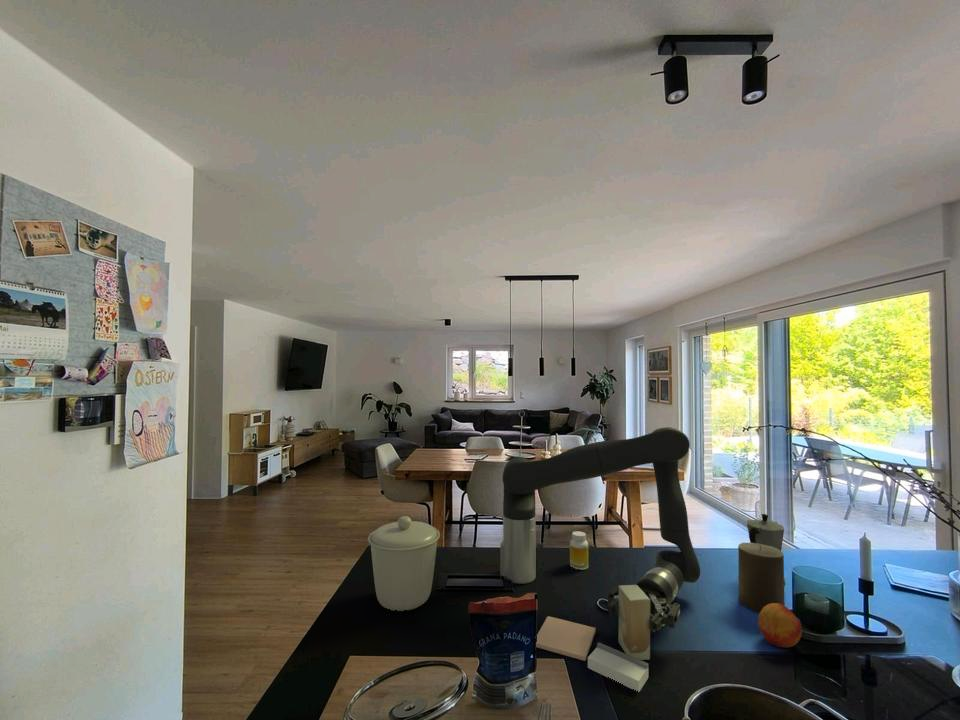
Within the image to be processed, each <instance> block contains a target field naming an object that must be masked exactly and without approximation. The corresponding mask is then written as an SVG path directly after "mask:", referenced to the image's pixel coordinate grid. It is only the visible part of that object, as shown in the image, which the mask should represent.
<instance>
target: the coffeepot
mask: <svg viewBox="0 0 960 720" xmlns="http://www.w3.org/2000/svg"><path fill="white" fill-rule="evenodd" d="M761 518H762V519H748V520H746V527H747V531H748V538H749V543H758V544H763V545H767V546H771V547H774V548H777V549H778V550H780V551H781V552H782V547H783V546H782V545H783V540H784V534H785V533H784V532H785V528H784V525H782V524H779V523H778V521H773V520H771V519H770V520H768V518H769V515H768V514H767V513H762V514H761ZM784 585H786V579H785V578H784Z"/></svg>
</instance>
